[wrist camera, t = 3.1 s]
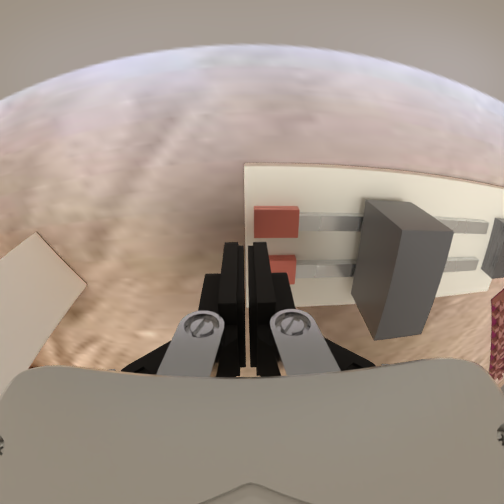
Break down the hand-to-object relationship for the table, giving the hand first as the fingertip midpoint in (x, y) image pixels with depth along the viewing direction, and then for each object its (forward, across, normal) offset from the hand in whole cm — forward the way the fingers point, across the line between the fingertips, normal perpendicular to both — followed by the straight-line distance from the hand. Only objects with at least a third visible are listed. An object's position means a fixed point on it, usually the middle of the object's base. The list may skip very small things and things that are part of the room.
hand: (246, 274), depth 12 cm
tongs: (+5, -11, +1) cm, 12 cm away
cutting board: (+6, -10, +1) cm, 12 cm away
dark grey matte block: (+4, -8, +1) cm, 9 cm away
